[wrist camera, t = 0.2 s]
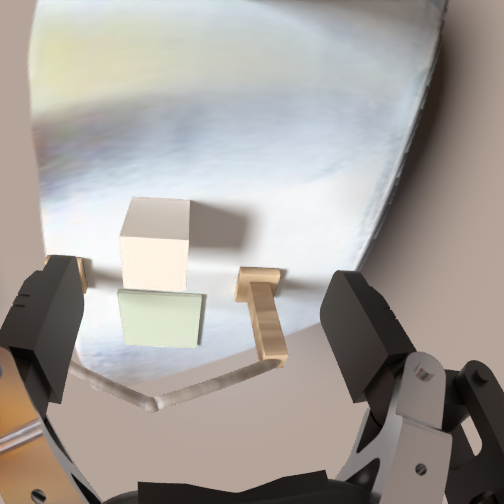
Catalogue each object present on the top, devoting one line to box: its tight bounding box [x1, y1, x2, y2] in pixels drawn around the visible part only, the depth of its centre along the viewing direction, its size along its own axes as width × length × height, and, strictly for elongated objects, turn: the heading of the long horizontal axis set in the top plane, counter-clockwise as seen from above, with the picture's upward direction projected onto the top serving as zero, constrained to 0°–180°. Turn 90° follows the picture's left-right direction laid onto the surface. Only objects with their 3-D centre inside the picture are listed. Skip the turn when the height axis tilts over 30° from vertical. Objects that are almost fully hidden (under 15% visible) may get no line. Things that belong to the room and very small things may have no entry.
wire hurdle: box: [44, 255, 288, 413], centre depth 26 cm, size 4×24×15 cm, turn 79°
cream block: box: [119, 197, 190, 292], centre depth 26 cm, size 5×5×6 cm
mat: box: [117, 290, 202, 348], centre depth 36 cm, size 9×9×1 cm
